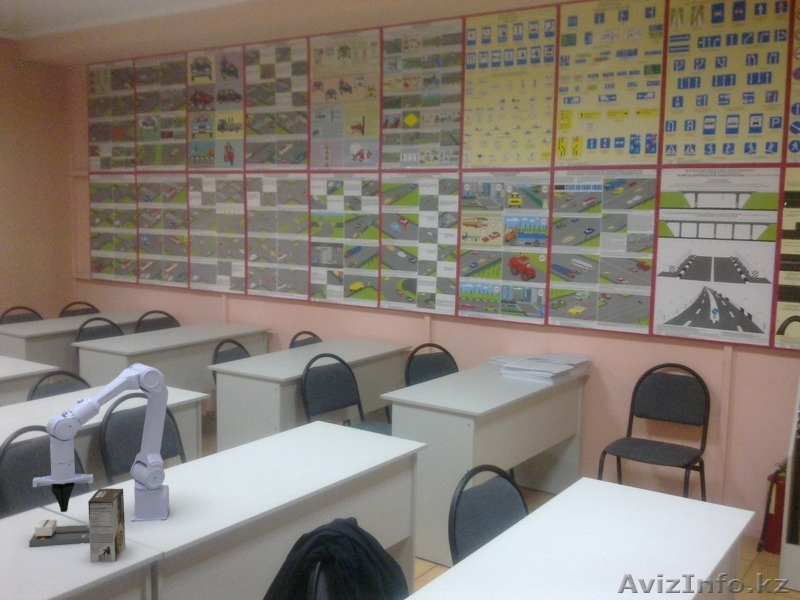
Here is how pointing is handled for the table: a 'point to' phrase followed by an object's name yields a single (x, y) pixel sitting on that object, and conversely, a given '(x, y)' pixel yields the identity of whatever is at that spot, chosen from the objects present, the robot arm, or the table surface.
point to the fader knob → (46, 527)
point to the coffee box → (106, 525)
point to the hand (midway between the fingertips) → (64, 510)
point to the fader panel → (63, 536)
